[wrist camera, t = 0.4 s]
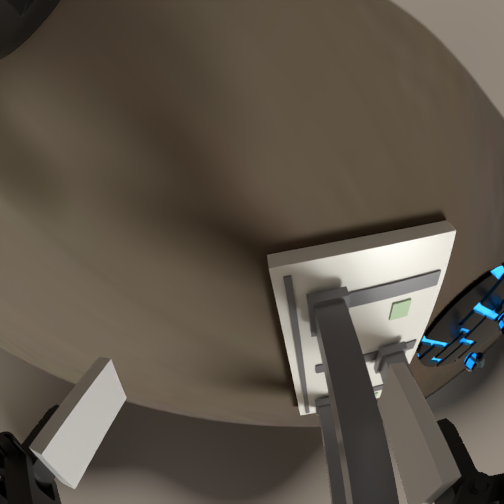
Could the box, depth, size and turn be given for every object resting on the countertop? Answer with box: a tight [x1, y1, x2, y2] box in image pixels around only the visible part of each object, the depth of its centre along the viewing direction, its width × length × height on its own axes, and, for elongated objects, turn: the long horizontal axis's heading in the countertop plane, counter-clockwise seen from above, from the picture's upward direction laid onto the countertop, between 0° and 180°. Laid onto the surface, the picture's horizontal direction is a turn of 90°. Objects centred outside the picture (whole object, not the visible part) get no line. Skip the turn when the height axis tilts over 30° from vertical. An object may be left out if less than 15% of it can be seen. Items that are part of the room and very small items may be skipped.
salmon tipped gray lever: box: [315, 397, 347, 504], centre depth 28 cm, size 4×3×18 cm
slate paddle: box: [374, 341, 415, 385], centre depth 21 cm, size 4×3×18 cm
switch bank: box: [267, 220, 456, 415], centre depth 29 cm, size 32×16×2 cm, turn 12°
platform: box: [418, 264, 504, 372], centre depth 28 cm, size 22×22×6 cm
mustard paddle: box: [306, 286, 399, 504], centre depth 15 cm, size 4×3×18 cm
